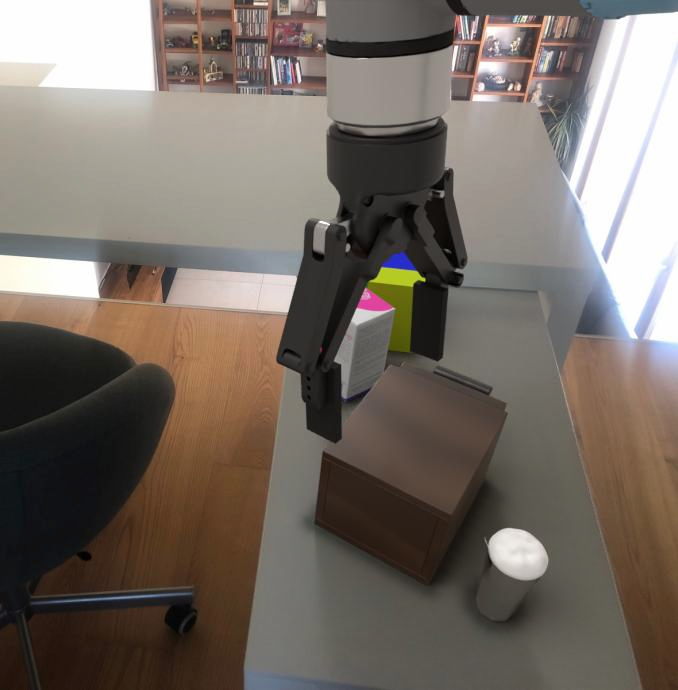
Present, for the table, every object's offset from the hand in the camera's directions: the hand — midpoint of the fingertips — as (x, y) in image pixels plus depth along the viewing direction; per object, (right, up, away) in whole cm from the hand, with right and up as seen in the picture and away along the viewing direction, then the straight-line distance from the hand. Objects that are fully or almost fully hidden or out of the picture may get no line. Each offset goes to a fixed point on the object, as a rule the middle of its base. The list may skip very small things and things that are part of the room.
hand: (378, 391), depth 55 cm
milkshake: (+11, -19, +6) cm, 23 cm away
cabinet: (+5, -12, +14) cm, 20 cm away
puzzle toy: (+8, +6, +36) cm, 38 cm away
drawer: (+9, -9, +17) cm, 21 cm away
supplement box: (+3, -1, +28) cm, 28 cm away
